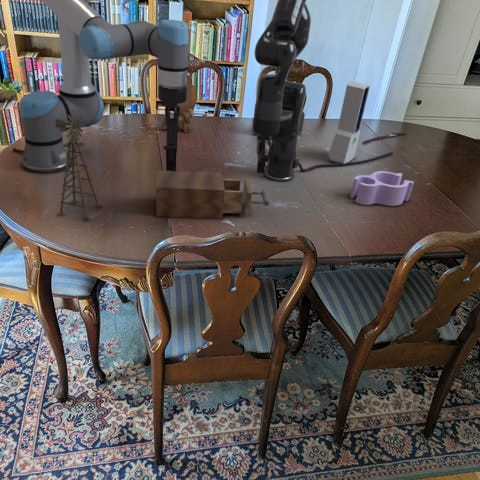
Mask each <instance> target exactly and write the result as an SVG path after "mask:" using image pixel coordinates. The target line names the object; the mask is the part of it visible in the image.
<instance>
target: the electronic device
mask: <svg viewBox="0 0 480 480" xmlns="http://www.w3.org/2000/svg"><path fill="white" fill-rule="evenodd" d="M370 88H371V85H370V84H367V83H362V82H358V81H353V80H350V81H349V82H348V83H347V84H346V87H345V92H344V97H343V101H342V107H341V110H340V111H341V112H340V115H339V121H338V125H337V130H336V132H335V134H334V137H333V139H332V143H331V146H330V148H329V151H328V158H329V161H330V162H333V163H335V164H336V163H343V164H345V163H348V162H351V161H352V160H353V159H354V158H355V157H356V153H357V147H358V143H359V138H360V135H361V125H362V122H363V119H364V113H365V109H366V106H367V101H368V97H369V93H370Z"/></svg>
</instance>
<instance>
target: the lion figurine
mask: <svg viewBox="0 0 480 480" xmlns="http://www.w3.org/2000/svg"><path fill="white" fill-rule="evenodd" d="M194 118H195V110H193V109H192V108H187V109H185V111H184V112H182V113H180V115H179V120H178V125H181V130H182V131H183V132H184V133H187V132H188V130H187V125H190V124H191V122H192V121H193V120H194ZM165 121H166V115H165V116H164V118H163V120H162V124H161V127H160V128H159V131H160V130H167V125H166V122H165Z"/></svg>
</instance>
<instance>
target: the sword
mask: <svg viewBox="0 0 480 480" xmlns="http://www.w3.org/2000/svg"><path fill="white" fill-rule="evenodd" d="M406 134H408V132H407V133H403V134H401V133H400V132H392V133H389V134H387V135H381V136H378V137H373V138H370V139H366V140H365V141H363V145H365V144H367V143H370V142H374V141H378V140H381V139H386V138H391V137H397V136H399V135H406Z"/></svg>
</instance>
